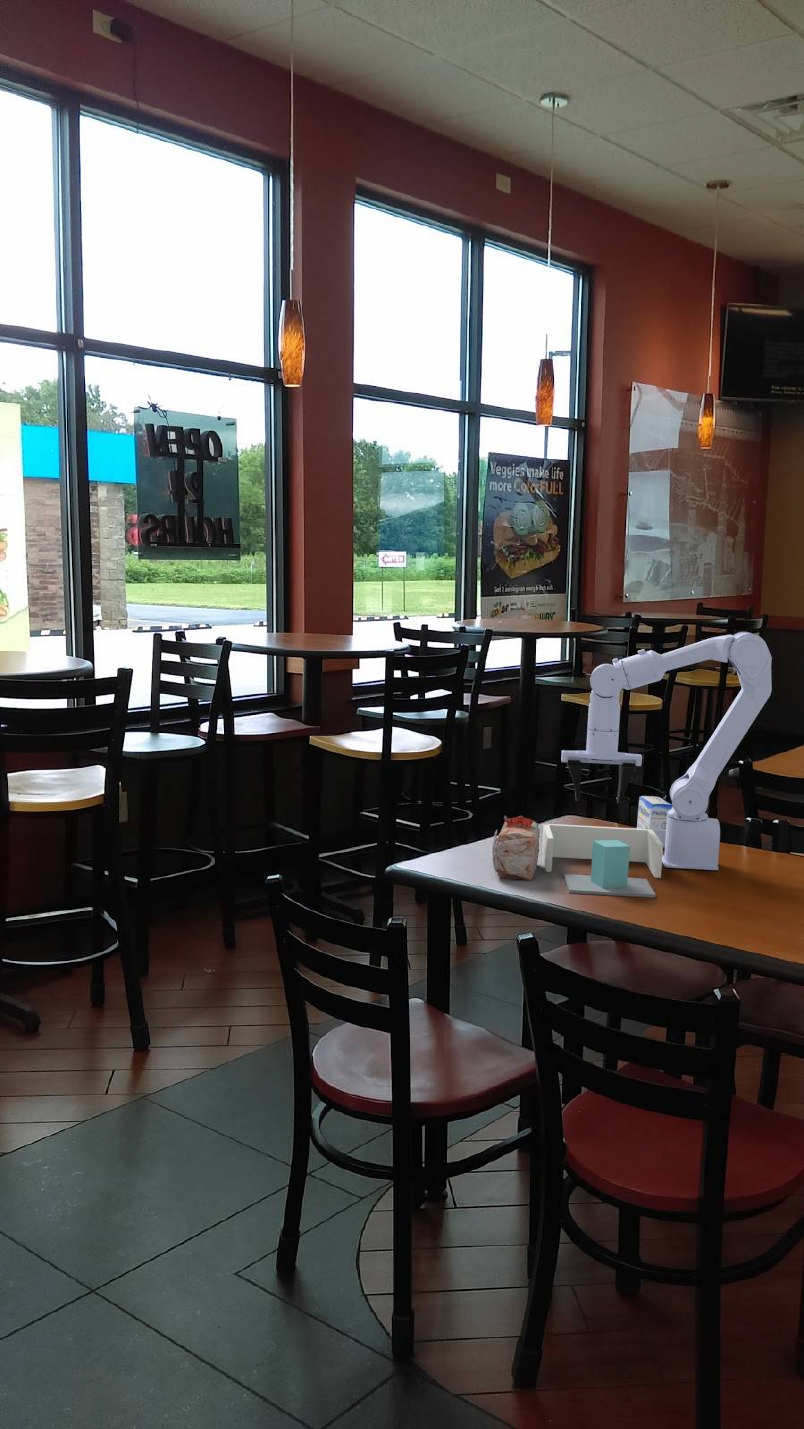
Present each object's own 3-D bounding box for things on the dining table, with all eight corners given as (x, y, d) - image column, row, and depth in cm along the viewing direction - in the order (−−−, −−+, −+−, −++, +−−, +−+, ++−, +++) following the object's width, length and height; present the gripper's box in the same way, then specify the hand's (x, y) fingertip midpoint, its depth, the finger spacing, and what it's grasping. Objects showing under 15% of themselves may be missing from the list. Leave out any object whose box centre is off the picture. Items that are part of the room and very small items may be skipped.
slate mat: (646, 881, 195) (646, 878, 194) (655, 897, 185) (655, 894, 185) (564, 876, 195) (564, 874, 195) (569, 892, 185) (569, 889, 185)
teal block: (614, 880, 193) (617, 839, 192) (627, 887, 188) (629, 846, 188) (590, 881, 191) (593, 840, 191) (602, 888, 187) (605, 846, 186)
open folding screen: (650, 861, 209) (652, 829, 209) (660, 877, 197) (663, 844, 197) (541, 855, 210) (543, 823, 210) (545, 871, 198) (547, 838, 198)
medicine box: (635, 837, 229) (638, 795, 228) (656, 838, 229) (659, 796, 228) (648, 847, 221) (651, 803, 220) (670, 847, 221) (673, 804, 220)
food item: (536, 883, 191) (540, 826, 190) (489, 879, 192) (492, 822, 191) (539, 863, 204) (542, 810, 203) (495, 860, 205) (498, 807, 204)
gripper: (639, 728, 211) (634, 799, 213) (561, 724, 212) (557, 795, 214) (645, 733, 204) (640, 807, 206) (564, 729, 205) (560, 803, 207)
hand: (598, 802), depth 210 cm, fingers open, 7 cm apart
